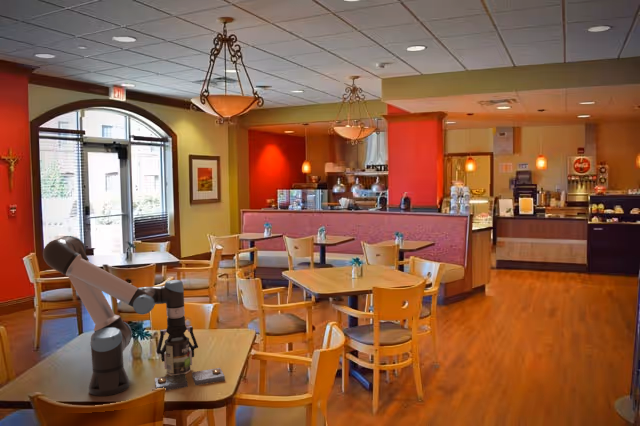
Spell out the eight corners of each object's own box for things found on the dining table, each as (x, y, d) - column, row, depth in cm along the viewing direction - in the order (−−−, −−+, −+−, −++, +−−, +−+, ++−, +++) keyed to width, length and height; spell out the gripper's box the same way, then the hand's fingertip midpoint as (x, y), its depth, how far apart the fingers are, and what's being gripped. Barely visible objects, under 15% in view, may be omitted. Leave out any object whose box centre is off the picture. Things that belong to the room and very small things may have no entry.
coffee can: (194, 367, 234) (193, 336, 233) (184, 376, 224) (182, 344, 223) (173, 366, 236) (171, 335, 235) (161, 375, 226) (160, 343, 225)
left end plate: (156, 392, 209) (156, 384, 209) (154, 382, 218) (154, 375, 218) (187, 386, 213) (187, 379, 213) (184, 378, 222) (184, 371, 222)
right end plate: (195, 385, 214) (194, 378, 214) (191, 376, 224) (191, 370, 223) (224, 380, 219) (224, 373, 218) (220, 372, 228) (219, 365, 228)
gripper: (149, 321, 221) (151, 373, 223) (203, 315, 229) (205, 365, 231) (147, 317, 228) (150, 367, 230) (200, 310, 236) (203, 359, 238)
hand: (178, 366), depth 230 cm, fingers closed on coffee can, 10 cm apart
